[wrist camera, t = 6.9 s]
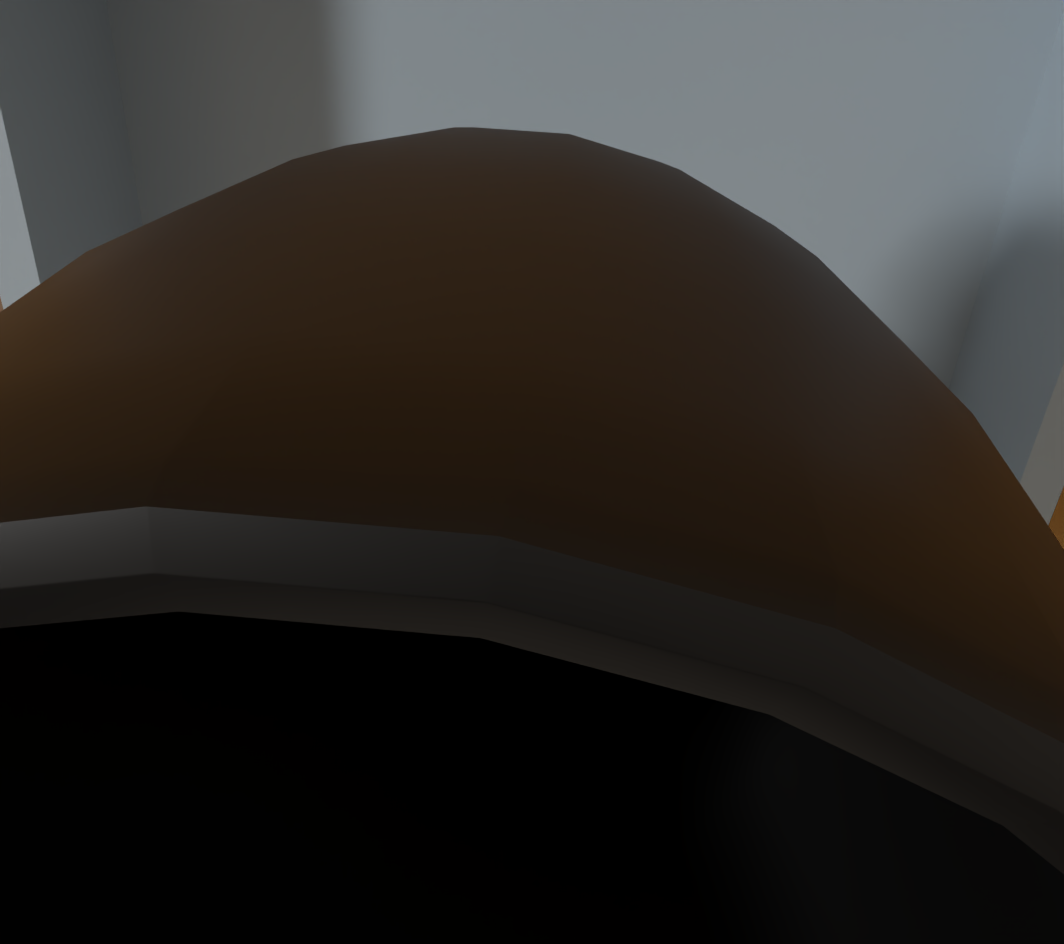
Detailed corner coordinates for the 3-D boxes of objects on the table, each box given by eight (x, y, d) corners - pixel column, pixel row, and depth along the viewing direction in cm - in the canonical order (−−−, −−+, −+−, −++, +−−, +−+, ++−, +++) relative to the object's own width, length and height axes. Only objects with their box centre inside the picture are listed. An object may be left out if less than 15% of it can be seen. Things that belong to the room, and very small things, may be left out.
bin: (31, -286, 18) (-156, -330, 13) (1169, -226, 17) (1354, -251, 13) (173, 531, 27) (90, 658, 23) (909, 592, 26) (965, 735, 22)
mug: (431, 813, 17) (269, 1644, 9) (89, 128, 12) (-1147, 759, 3) (921, 744, 16) (1242, 1690, 8) (810, -102, 10) (1684, 97, 2)
